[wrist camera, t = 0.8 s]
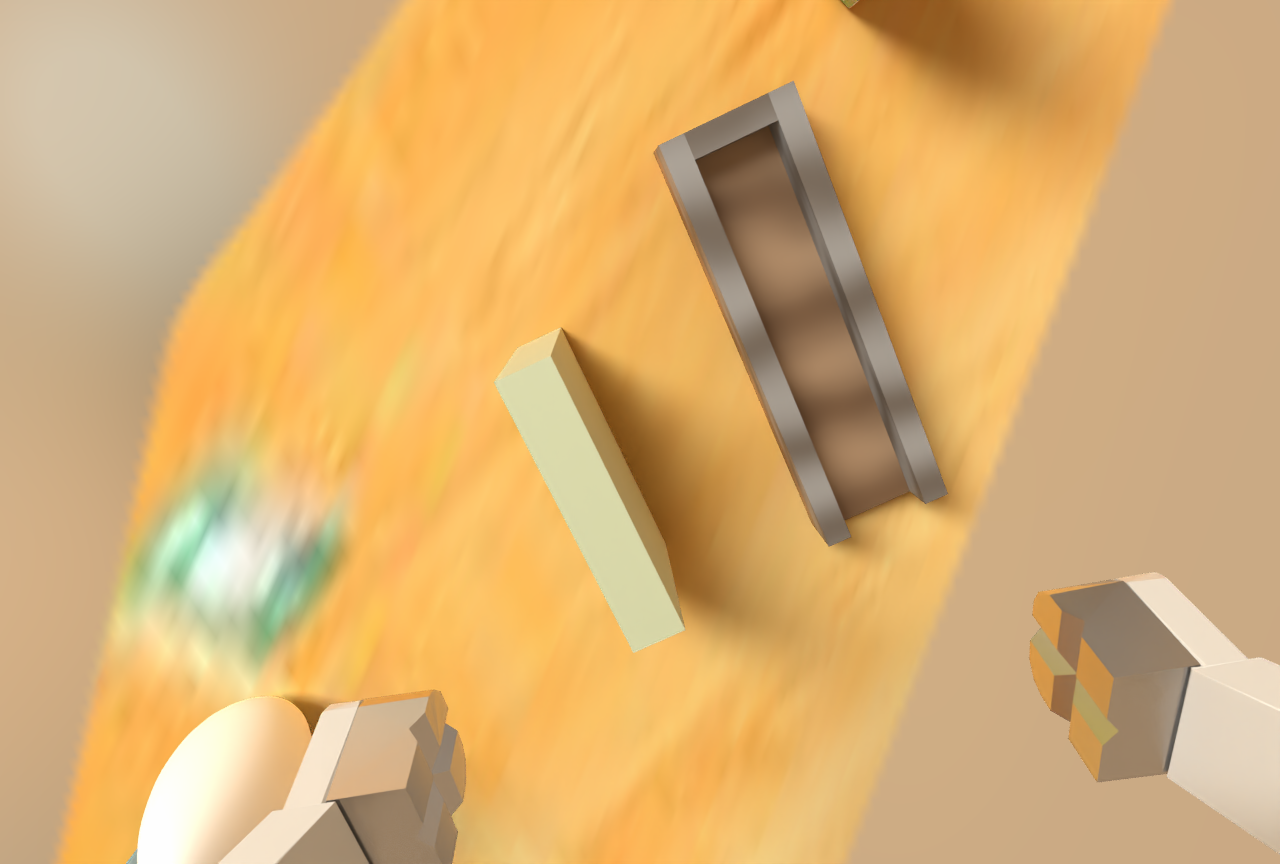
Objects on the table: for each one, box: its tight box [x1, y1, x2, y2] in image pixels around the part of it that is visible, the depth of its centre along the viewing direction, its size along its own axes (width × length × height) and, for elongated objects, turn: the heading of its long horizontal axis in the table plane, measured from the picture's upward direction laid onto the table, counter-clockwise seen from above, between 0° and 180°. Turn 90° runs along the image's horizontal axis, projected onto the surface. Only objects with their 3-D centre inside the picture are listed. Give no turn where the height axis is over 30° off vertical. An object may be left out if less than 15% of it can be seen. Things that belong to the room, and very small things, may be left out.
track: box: [654, 81, 948, 546], centre depth 48 cm, size 26×8×4 cm, turn 25°
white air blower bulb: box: [137, 696, 312, 864], centre depth 46 cm, size 8×8×18 cm
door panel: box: [494, 328, 685, 653], centre depth 45 cm, size 16×3×12 cm, turn 25°
